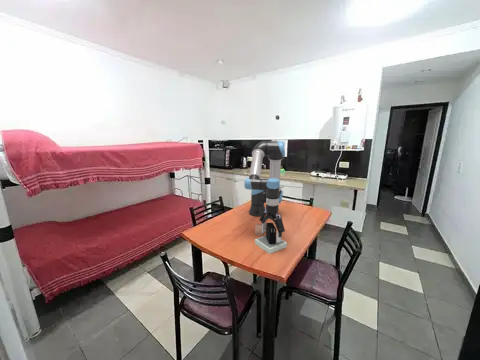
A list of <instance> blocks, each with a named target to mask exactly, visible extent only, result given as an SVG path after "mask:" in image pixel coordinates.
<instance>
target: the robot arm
mask: <svg viewBox="0 0 480 360" xmlns="http://www.w3.org/2000/svg"><path fill="white" fill-rule="evenodd" d="M285 156H286V152H285V142H284V141H283V140H282V141H281V140H262V141H260V142H258V143H257V144H256V145H255V146H253V149H252V151H251V157H252V158H251V163H250V167H249V168H250V169H249V175H248V177H245V178H244V188H245V190H251V192H250V193H251V194H250V195H251V197H250V198H251V201H250V202H251V203H250V207H249V210H248V214H249V215H250V216H253V217H259V222H260V224H262V233H264V234H266V223H267V221H268V220H271V221H272V223H273V222H274V223H273V224H274V226H275V227H276V237H277V242H280V241H281V239H282V236H283V233H284V232H286V230H285V227H284V223H283V220H282V218H283V217H282V214H278V212H279V207H280V206H279V204H281V202H282V199H283V194H284V193H283V192H284V191H283V190H282V188H281V184H280V183H281V167H282V166H281V165H282V160H284V157H285ZM264 157H267V159H268V160H269V178H261V174H262V166H263V160H264V159H263V158H264ZM265 204H266V205H265Z"/></svg>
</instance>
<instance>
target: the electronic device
mask: <svg viewBox="0 0 480 360" xmlns="http://www.w3.org/2000/svg"><path fill="white" fill-rule="evenodd" d="M265 223H266V232H265V236H266V238H267V240H268V243H269V244H276V237H277V228H276V225H275V223H273V222H265Z"/></svg>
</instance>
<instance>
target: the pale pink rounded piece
mask: <svg viewBox="0 0 480 360" xmlns="http://www.w3.org/2000/svg"><path fill="white" fill-rule="evenodd" d="M254 227H255V228H254V233H255V236H259V237H263V236H264V234H265V233H262V223H256V224H255V226H254Z"/></svg>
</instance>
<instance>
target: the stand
mask: <svg viewBox="0 0 480 360" xmlns="http://www.w3.org/2000/svg"><path fill="white" fill-rule="evenodd" d="M254 244H255V245H256V246H258V247H259V249H260V248H261V249H262V250H263V251H265V252H266V253H267V254H269V255H272V254H274V253H275V252H279V251H281V250H283V249H286V248H287V247H288V243H287V241H285V240H283V239H282V238H281V241H280V242H277V236H276V244H269V243H268V240H267V238H266V235H262V236H259V237H258V238H255V239H254Z"/></svg>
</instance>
